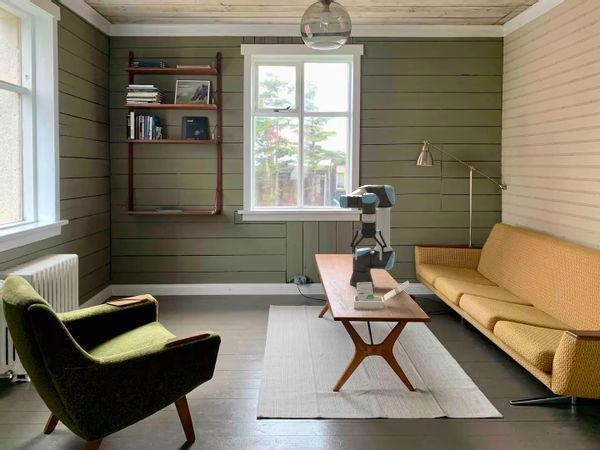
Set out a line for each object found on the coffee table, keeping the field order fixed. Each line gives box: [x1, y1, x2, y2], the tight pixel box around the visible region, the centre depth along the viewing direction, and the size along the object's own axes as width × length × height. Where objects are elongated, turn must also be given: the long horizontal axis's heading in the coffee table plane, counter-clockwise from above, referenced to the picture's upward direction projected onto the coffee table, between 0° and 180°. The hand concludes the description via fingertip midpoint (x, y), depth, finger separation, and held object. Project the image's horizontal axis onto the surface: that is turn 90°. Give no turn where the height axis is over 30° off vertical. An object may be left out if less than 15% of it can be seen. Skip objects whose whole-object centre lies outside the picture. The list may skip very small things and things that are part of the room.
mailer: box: [353, 295, 385, 310], centre depth 348 cm, size 12×16×4 cm
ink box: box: [356, 282, 374, 301], centre depth 352 cm, size 8×5×12 cm
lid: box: [383, 280, 411, 302], centre depth 346 cm, size 12×16×1 cm
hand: (368, 259), depth 346 cm, fingers open, 13 cm apart
